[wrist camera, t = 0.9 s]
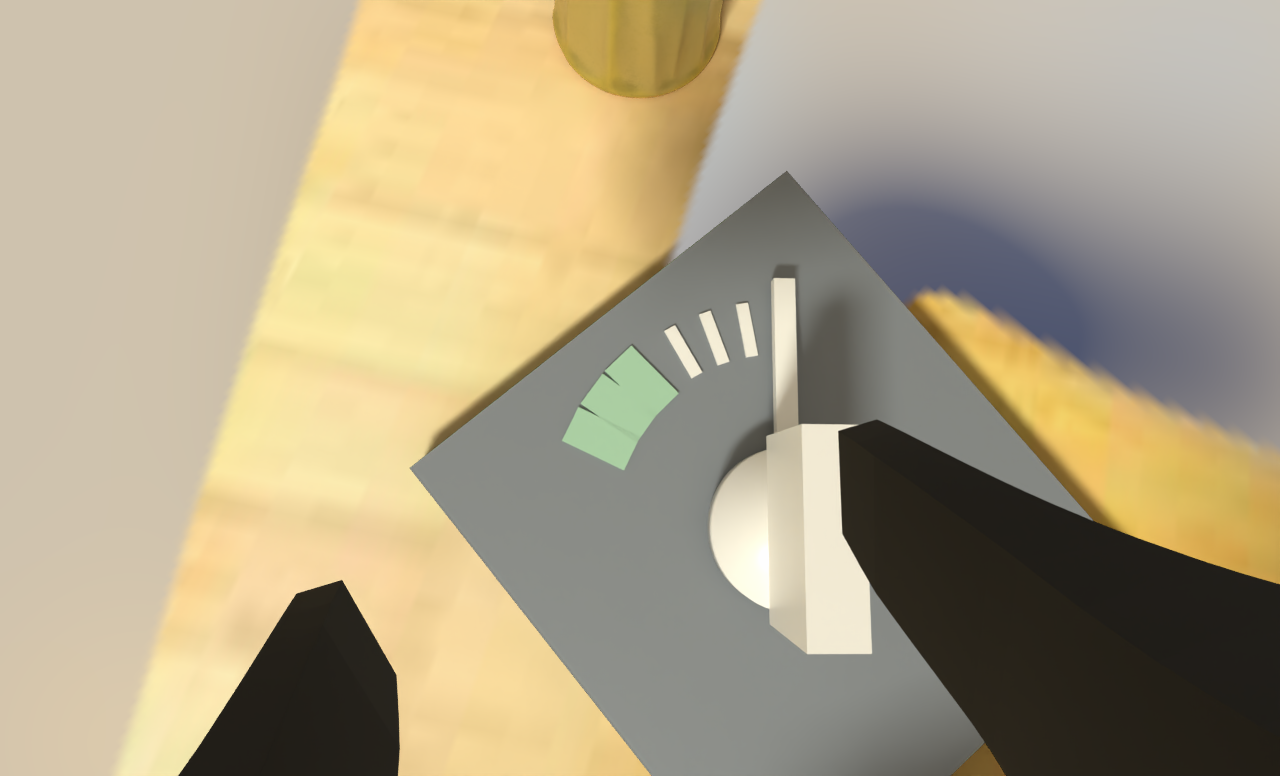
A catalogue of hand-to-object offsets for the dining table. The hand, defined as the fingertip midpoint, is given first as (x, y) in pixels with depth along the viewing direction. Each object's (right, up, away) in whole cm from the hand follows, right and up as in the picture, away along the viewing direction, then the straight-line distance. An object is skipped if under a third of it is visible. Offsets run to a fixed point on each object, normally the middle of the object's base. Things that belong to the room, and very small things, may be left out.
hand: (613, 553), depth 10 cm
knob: (+5, 0, +13) cm, 14 cm away
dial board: (+5, -2, +14) cm, 15 cm away
